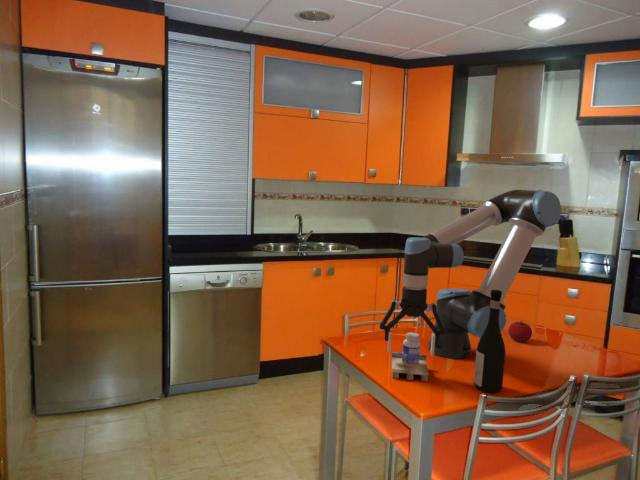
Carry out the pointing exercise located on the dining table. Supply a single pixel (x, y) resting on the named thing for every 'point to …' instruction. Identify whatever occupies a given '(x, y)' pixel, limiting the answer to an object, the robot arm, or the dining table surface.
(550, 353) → the dining table surface
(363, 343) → the dining table surface
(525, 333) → the tomato
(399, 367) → the dock
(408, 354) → the pill bottle
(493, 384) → the wine bottle
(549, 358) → the dining table surface
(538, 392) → the dining table surface
